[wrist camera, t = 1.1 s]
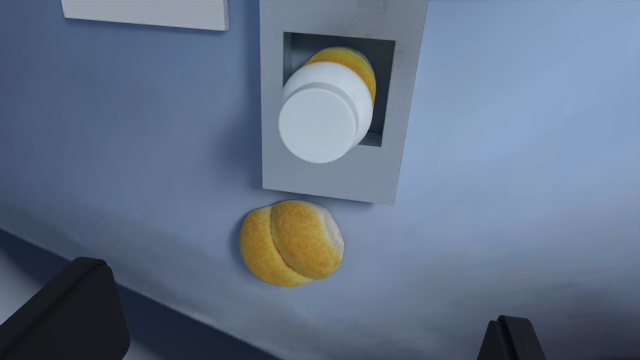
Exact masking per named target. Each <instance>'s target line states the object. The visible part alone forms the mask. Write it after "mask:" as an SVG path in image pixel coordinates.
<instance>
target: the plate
mask: <svg viewBox="0 0 640 360" xmlns="http://www.w3.org/2000/svg"><path fill="white" fill-rule="evenodd" d="M61 2H62V7H63V11H64V15H65V18H76V19H88V20H100V21H112V22H124V23H137V24H149V25H161V26H173V27H185V28H197V29H209V30H221V31H226V30H229V16H228V0H61Z"/></svg>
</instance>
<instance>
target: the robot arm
mask: <svg viewBox="0 0 640 360" xmlns="http://www.w3.org/2000/svg"><path fill="white" fill-rule="evenodd" d="M129 346H130V336H129V332H128V329H127V325H126V321H125V318H124V314H123V310H122V306H121V303H120V299H119V295H118V291H117V288H116V284H115V280H114V277H113V273H112V270H111V268H110V267H109V266H107V264H106V262H105V261H104V260H101V259H94V258H87V257H78V258H76V259H75V260H73V261H72V262H71V263H70V264H69V265H68V266H67V267H65V269H63V270H62V271H61V272H60V273H59V274H58V275H57V276H55V277H54V278H53V279H52V280H51V281H50V282H49V283H48V284H46V285H45V286H44V287H43V288H42V289H41V290H40V291H39V292H37V293H36V294H35V295H34V296H33V297H32V298H31V299H30V300H28V301H27V302H26V303H25V304H24V305H23V306H22V307H21V308H19V309H18V310H17V311H16V312H15V313H14V314H13V315H12V316H10V317H9V318H8V319H7V320H6V321H5V322H4V323H3V324H1V325H0V360H122V359H123V357H124V356H125V355H126V353H127V351H128V349H129ZM477 360H546V358H545V355H544V353H543V351H542V348H541V346H540V343H539V341H538V338H537V336H536V333H535V331H534V329H533V326H532V324H531V322H530V321H529V320H528V319H526V318H518V317H511V316H504V315H500V316H499V317H498V319H497V321H492V320H491V321H490V322H489V324H488V327H487V330H486V334H485V337H484V340H483V343H482V346H481V349H480V352H479V355H478V358H477Z"/></svg>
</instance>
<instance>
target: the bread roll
mask: <svg viewBox="0 0 640 360" xmlns="http://www.w3.org/2000/svg"><path fill="white" fill-rule="evenodd" d="M239 247H240V252H241V256H242V258H243V261H244V263H245V264H246V266H247V267H248V269H249V270H250V271H251V272H252V273H253V274H254V275H255V276H256V277H258V278H259V279H261V280H263V281H265V282H268V283H271V284H275V285H279V286H285V287H293V286H299V285H302V284H305V283H308V282H310V281H313V280H316V279H323V278H326V277H328V276H329V275H330V274H332V273H333V272H334V271H335V270H336V269H337V268H338V267H339V265H340V263H341V261H342V258H343V251H344V241H343V238H342V236H341V233H340V230H339V228H338V226H337V224H336V222H335V221H334V219H333V217H332V216H331V214H330V213H329V212H328V210H327V209H326V208H324V207H322V206H320V205H317V204H314V203H310V202H307V201H303V200H298V199H296V200H286V201H281V202H279V203H276V204H274V205H271V206H268V207H264V208H259V209H256V210H254V211H252V212H250V213H249V214H248V215H247V216H246V218H245V219H244V221H243V224H242V226H241V229H240V234H239Z"/></svg>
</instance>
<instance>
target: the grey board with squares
mask: <svg viewBox="0 0 640 360" xmlns="http://www.w3.org/2000/svg"><path fill="white" fill-rule="evenodd" d="M259 3H260V61H261V120H262V179H263V189H271V190H278V191H286V192H294V193H301V194H309V195H317V196H324V197H332V198H340V199H347V200H355V201H363V202H370V203H378V204H386V205H393V206H394V202H395V196H396V190H397V184H398V178H399V172H400V166H401V160H402V154H403V148H404V143H405V137H406V131H407V125H408V119H409V113H410V107H411V101H412V95H413V89H414V83H415V77H416V71H417V65H418V59H419V53H420V47H421V42H422V36H423V30H424V24H425V18H426V12H427V6H428V0H259ZM292 32H296V33H309V34H321V35H333V36H346V37H358V38H370V39H382V40H395V44H394V52H393V59H392V66H391V73H390V81H389V88H388V95H387V102H386V110H385V117H384V124H383V132H382V134H376V133H366V135H365V136H364V138H363V139H362V140H361V141H360V142H359V143H358V144H357V145H356V146H355V147H353V148H352V149H350V150H348V151H347V152H346V153H345V154H344V155H343V156H342V157H340V158H338V159H337V160H334V161H332V162H328V163H321V164H320V163H311V162H307V161H304V160H302V159H300V158H298V157H297V156H295V155H294V154H292V153H291V152H290V151H289V150H288V149H287V147H286V146H285V145H284V143H283V141H282V139H281V136H280V133H279V129H278V118H279V101H280V96H281V93H282V90H283V88H284V86H285V84H286V82H287V81H288V79H289V78H290V77H291V59H292Z"/></svg>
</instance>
